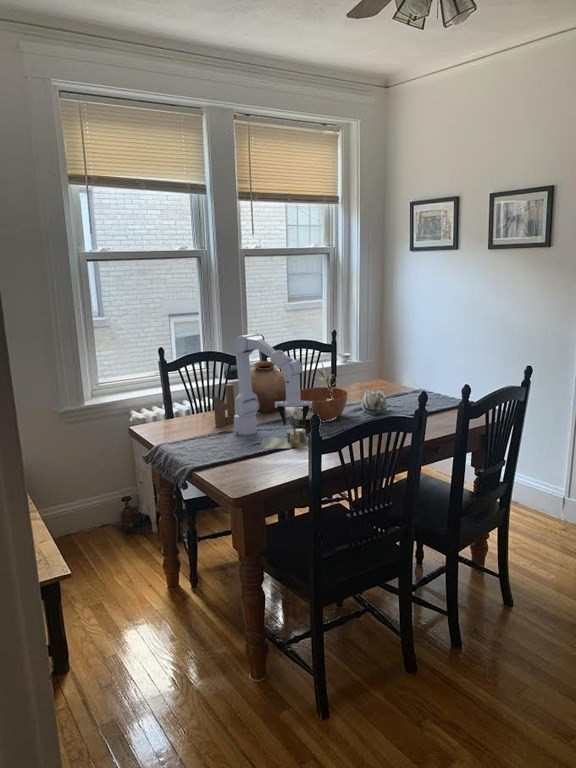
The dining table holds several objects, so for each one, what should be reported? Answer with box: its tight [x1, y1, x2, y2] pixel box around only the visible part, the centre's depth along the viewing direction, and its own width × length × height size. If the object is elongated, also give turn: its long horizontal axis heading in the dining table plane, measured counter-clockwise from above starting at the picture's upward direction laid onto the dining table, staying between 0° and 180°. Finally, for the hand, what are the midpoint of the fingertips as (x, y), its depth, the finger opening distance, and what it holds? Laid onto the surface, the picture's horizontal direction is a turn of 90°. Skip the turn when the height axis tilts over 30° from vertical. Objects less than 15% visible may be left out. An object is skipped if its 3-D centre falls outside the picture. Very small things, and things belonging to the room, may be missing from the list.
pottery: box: [250, 360, 286, 415], centre depth 273 cm, size 23×23×25 cm
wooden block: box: [212, 383, 237, 428], centre depth 259 cm, size 4×11×18 cm, turn 140°
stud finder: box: [286, 428, 307, 442], centre depth 231 cm, size 7×4×4 cm, turn 84°
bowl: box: [300, 386, 349, 423], centre depth 263 cm, size 25×25×11 cm
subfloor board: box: [259, 437, 309, 449], centre depth 229 cm, size 20×12×1 cm, turn 84°
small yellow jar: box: [290, 428, 300, 447], centre depth 225 cm, size 4×4×7 cm
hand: (294, 424), depth 224 cm, fingers open, 7 cm apart
